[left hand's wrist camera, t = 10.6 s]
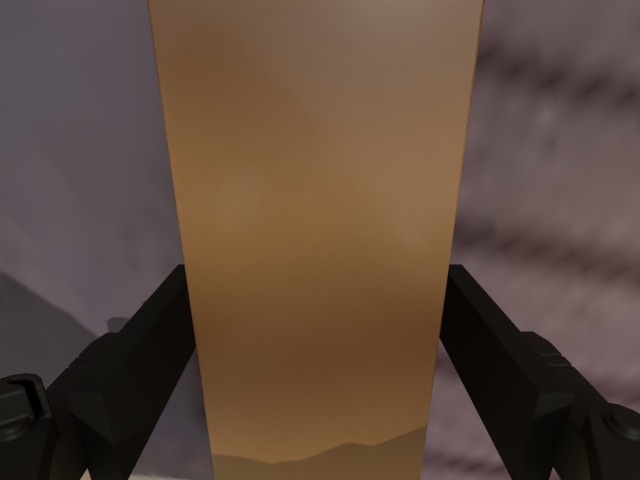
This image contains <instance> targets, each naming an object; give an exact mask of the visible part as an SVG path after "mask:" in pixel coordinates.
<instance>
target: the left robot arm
mask: <svg viewBox="0 0 640 480" xmlns="http://www.w3.org/2000/svg"><path fill="white" fill-rule="evenodd" d="M439 338H440V340H441V342H442V343H443V345H444V347H445V349H446V351H447V353H448V355H449V357H450V359H451V361H452V363H453V365H454V367H455V369H456V371H457V373H458V375H459V377H460V379H461V381H462V383H463V385H464V387H465V388H466V390H467V392H468V394H469V396H470V398H471V400H472V402H473V404H474V406H475V408H476V410H477V412H478V414H479V416H480V418H481V420H482V422H483V424H484V426H485V428H486V430H487V432H488V434H489V435H490V437H491V439H492V441H493V443H494V445H495V447H496V449H497V451H498V453H499V455H500V457H501V459H502V461H503V463H504V465H505V467H506V469H507V471H508V473H509V475H510V477H511V479H512V480H549V477H550V474H551V471H552V468H553V467H554V469H555V471H556V472H557V474H558V475H559V477H560V478H561V480H640V414H639V413H637V412H636V411H634V410H632V409H629V408H626V407H624V406H621V405H618V404H613V403H608V402H607V401H606V400H605V399H604V398H603V397H602V396H601V395H600V393H599V392H598V391H597V390H596V389H595V388H594V387H593V386H592V385H591V384H590V383H589V382H588V381H587V380H586V379H585V378H584V377H583V376H582V375H581V374H580V373H579V372H578V371H577V370H576V369H575V368H574V367H572V366H571V363H570V362H569V361H568V360H567V359H566V358H565V357H562V354H561V353H560V352H559V351H558V350H557V349H556V348H555V347H554V346H553V345H552V344H551V343H550V342H549V341H547V340H546V339H544V338H543V337H541V336H539V335H538V334H536V333H534V332H520V330H519V329H518V328H517V327H516V326H515V325H514V324H513V322H512V321H511V320H510V319H509V318H508V317H507V316H506V314H505V313H504V312H503V311H502V310H501V309H500V308H499V307H498V305H497V304H496V303H495V302H494V301H493V300H492V299H491V297H490V296H489V295H488V294H487V293H486V292H485V291H484V289H483V288H482V287H481V286H480V285H479V284H478V283H477V282H476V280H475V279H474V278H473V277H472V276H471V275H470V274H469V272H468V271H467V270H466V269H465V268H464V267H463V266H462V265H449V269H448V276H447V283H446V291H445V298H444V306H443V313H442V321H441V328H440V335H439ZM195 347H196V342H195V335H194V328H193V321H192V313H191V306H190V299H189V292H188V285H187V278H186V271H185V265H178V266H177V267H176V268H175V269H174V270H173V271H172V272H171V274H170V275H169V276H168V277H167V278H166V279H165V280H164V282H163V283H162V284H161V285H160V286H159V287H158V288H157V289H156V291H155V292H154V293H153V294H152V295H151V296H150V297H149V299H148V300H147V301H146V302H145V303H144V304H143V305H142V307H141V308H140V309H139V310H138V311H137V312H136V313H135V314H134V316H133V317H132V318H131V319H130V320H129V321H128V322H127V324H126V325H125V326H124V327H123V328H122V329H121V330H120V332H119V333H106V334H104V335H103V336H101V337H100V338H98V339H96V340H95V341H93V342H92V343H90V344H89V345H88V346H87V347H86V348H85V349H84V350H83V352H82V353H81V354H80V355H79V357H78V358H76V359H75V360H74V361H73V362H72V363H71V364H70V365H69V368H66V369H65V370H64V371H63V372H62V373H61V374H60V376H59V377H58V378H57V379H56V380H55V381H54V382H53V383H52V384H51V385H50V386H49V387H48V388H47V389H46V390H45V388H44V385H43V382H42V379H41V378H40V377H39V376H37V375H36V374H27V373H23V374H17V375H11V376H8V377H5V378H2V379H0V480H80V479H81V477H82V476H83V474H84V473H85V471H86V469H87V468H88V471H89V474H90V477H91V480H128V479H129V477H130V475H131V473H132V471H133V469H134V467H135V465H136V463H137V461H138V459H139V457H140V455H141V453H142V451H143V449H144V447H145V445H146V443H147V441H148V439H149V437H150V435H151V434H152V432H153V430H154V428H155V426H156V424H157V422H158V420H159V418H160V416H161V414H162V412H163V410H164V408H165V406H166V404H167V402H168V400H169V398H170V396H171V394H172V392H173V390H174V388H175V387H176V385H177V383H178V381H179V379H180V377H181V375H182V373H183V371H184V369H185V367H186V365H187V363H188V361H189V359H190V357H191V355H192V353H193V351H194V349H195Z"/></svg>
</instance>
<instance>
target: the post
mask: <svg viewBox="0 0 640 480" xmlns="http://www.w3.org/2000/svg"><path fill="white" fill-rule="evenodd" d="M484 1H485V0H147V3H148V10H149V17H150V24H151V31H152V38H153V45H154V52H155V59H156V67H157V74H158V81H159V88H160V95H161V102H162V109H163V116H164V123H165V130H166V137H167V144H168V151H169V158H170V165H171V172H172V179H173V186H174V194H175V201H176V208H177V215H178V222H179V229H180V236H181V243H182V250H183V257H184V264H185V271H186V278H187V285H188V292H189V299H190V306H191V313H192V321H193V328H194V335H195V342H196V349H197V356H198V363H199V370H200V377H201V384H202V391H203V398H204V405H205V412H206V419H207V426H208V433H209V440H210V448H211V455H212V462H213V469H214V476H215V480H420V476H421V469H422V462H423V454H424V447H425V439H426V432H427V425H428V417H429V410H430V402H431V395H432V387H433V380H434V373H435V365H436V358H437V350H438V343H439V335H440V328H441V321H442V313H443V306H444V298H445V291H446V283H447V276H448V269H449V261H450V254H451V246H452V239H453V231H454V224H455V217H456V209H457V202H458V194H459V187H460V179H461V172H462V165H463V157H464V150H465V142H466V135H467V128H468V120H469V113H470V105H471V98H472V90H473V83H474V76H475V68H476V61H477V53H478V46H479V38H480V31H481V24H482V16H483V9H484Z"/></svg>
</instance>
